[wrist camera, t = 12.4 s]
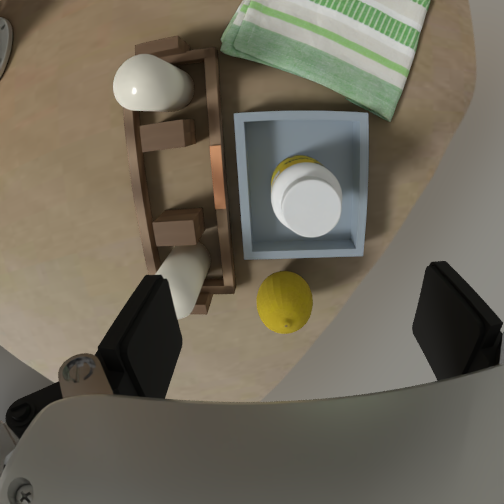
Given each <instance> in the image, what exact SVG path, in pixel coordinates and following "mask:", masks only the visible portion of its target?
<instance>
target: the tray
mask: <svg viewBox="0 0 504 504" xmlns="http://www.w3.org/2000/svg"><path fill="white" fill-rule="evenodd" d="M234 124H235V139H236V154H237V168H238V182H239V196H240V210H241V224H242V237H243V251H244V260H250V259H286V258H319V257H350V256H363V251H364V240H365V228H366V213H367V195H368V164H369V123H368V113H363V112H344V111H266V112H247V113H234ZM293 155H306V156H309V157H312V158H314V159H315V160H317V161H318V162H320V163H321V164H322V165H323V166H324V167H326V168H327V169H328V170H330V171H331V172H332V173H333V175H334V176H335V177H336V179H337V180H338V182H339V184H340V187H341V190H342V212H341V216H340V219H339V221H338V223H337V224H336V226H335V227H334V228H333V229H332V230H331V231H329V232H328V233H326V234H324V235H322V236H319V237H304V236H301V235H298V234H296V233H295V232H293V231H292V230H291V229H289V228H287V227H286V226H285V225H283V224H282V223H281V222H280V221H279V219H278V218H277V216H276V215H275V213H274V210H273V207H272V203H271V179H272V174H273V172H274V170H275V168H276V167H277V165H278V164H279V163H280V162H281V161H282V160H284V159H285V158H287V157H290V156H293Z"/></svg>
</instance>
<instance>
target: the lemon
mask: <svg viewBox="0 0 504 504" xmlns="http://www.w3.org/2000/svg"><path fill="white" fill-rule="evenodd" d="M312 306H313V300H312V293H311V290H310V288H309V286H308V284H307V283H306V281H305V280H304V279H303V278H302V277H301V276H299V275H298V274H296V273H293V272H289V271H279V272H276V273H273V274H272V275H270V276H268V277H267V278H266V279H265V280H264V281H263V283H262V284H261V286H260V288H259V291H258V294H257V310H258V313H259V316H260V318H261V320H262V322H263V323H264V324H265V326H266V327H268V328H269V329H270V330H272V331H274V332H277V333H282V334H287V333H293V332H295V331H297V330H299V329H301V328H302V327H303V326H304V325H305V324H306V323H307V321H308V319H309V317H310V315H311V311H312Z"/></svg>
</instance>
